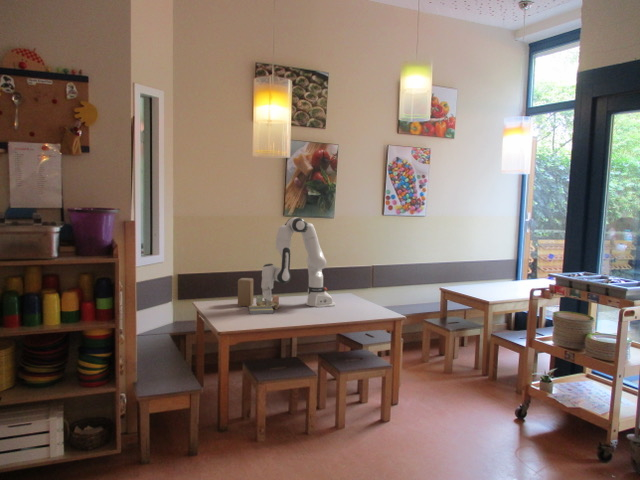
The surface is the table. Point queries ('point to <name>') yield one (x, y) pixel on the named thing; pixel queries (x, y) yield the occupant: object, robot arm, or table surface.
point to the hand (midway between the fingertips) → (266, 304)
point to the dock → (260, 309)
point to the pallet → (269, 304)
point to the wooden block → (245, 292)
